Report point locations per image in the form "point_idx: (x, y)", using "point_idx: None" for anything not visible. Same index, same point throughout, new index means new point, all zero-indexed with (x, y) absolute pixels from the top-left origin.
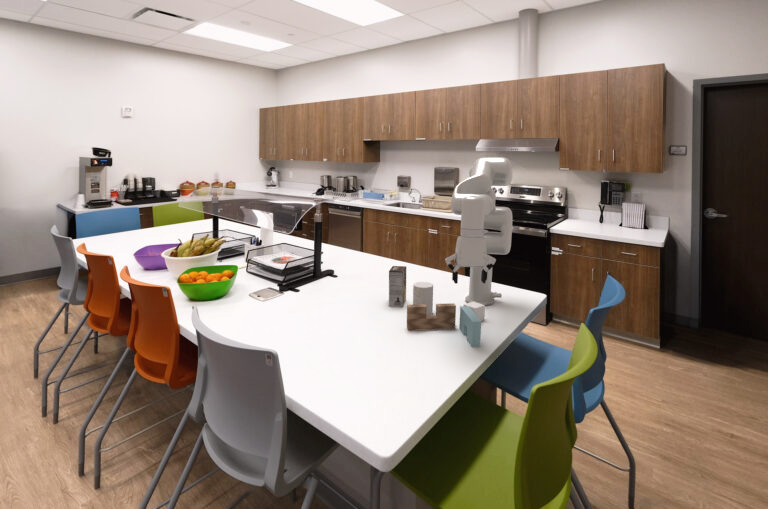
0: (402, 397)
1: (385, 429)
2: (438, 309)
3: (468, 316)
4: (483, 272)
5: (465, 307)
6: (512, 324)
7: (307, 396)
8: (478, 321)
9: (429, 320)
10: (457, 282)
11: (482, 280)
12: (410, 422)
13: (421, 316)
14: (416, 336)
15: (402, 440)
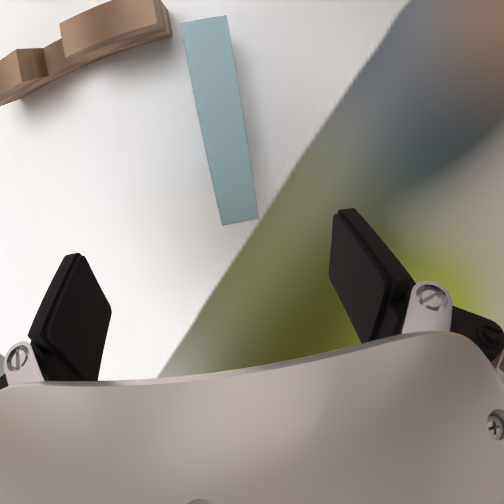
0: (110, 364)
1: None
2: (75, 55)
3: (209, 163)
4: (367, 336)
5: (208, 36)
6: (390, 9)
7: None
8: (247, 215)
9: (63, 70)
10: (110, 315)
11: (337, 260)
12: None
13: (28, 85)
14: (48, 137)
15: None
